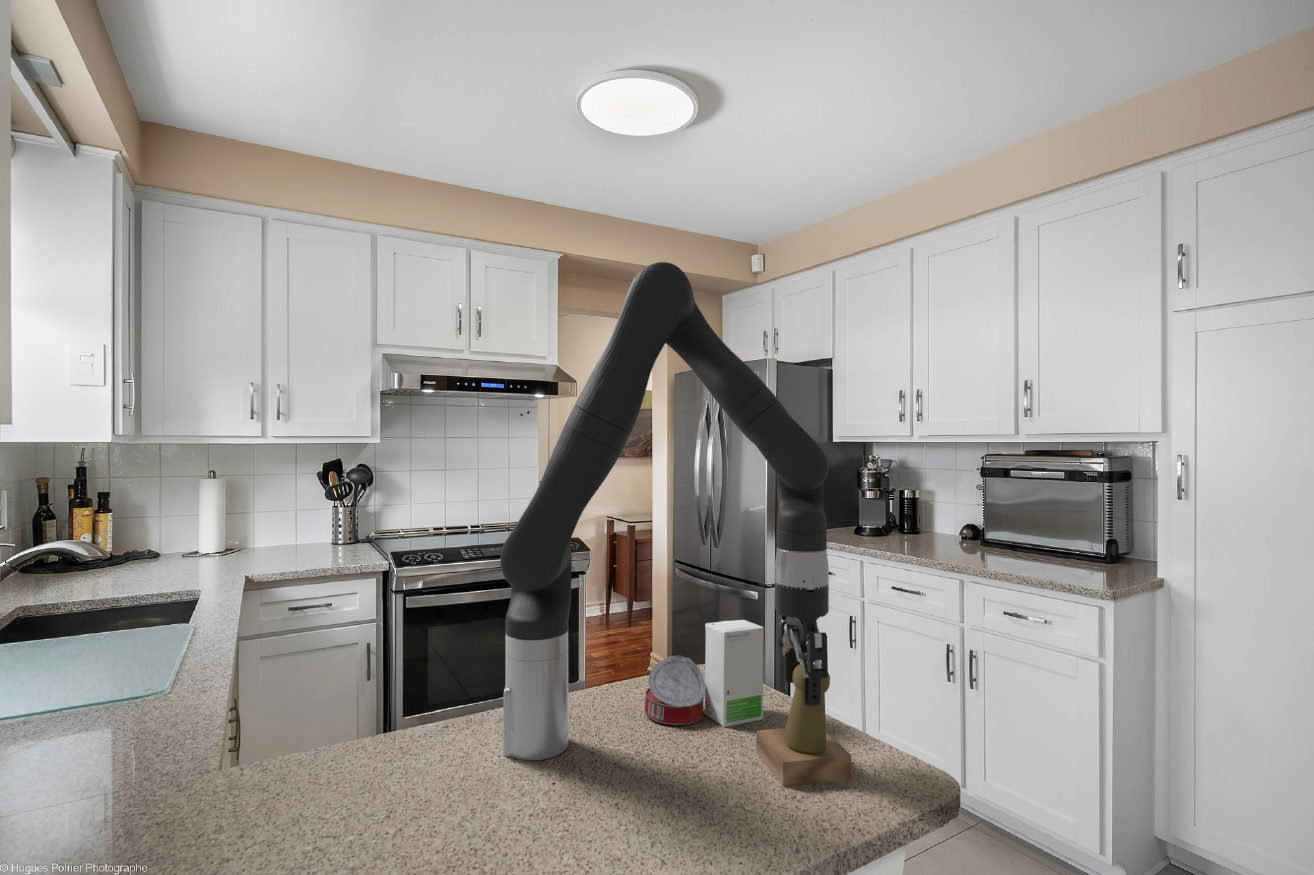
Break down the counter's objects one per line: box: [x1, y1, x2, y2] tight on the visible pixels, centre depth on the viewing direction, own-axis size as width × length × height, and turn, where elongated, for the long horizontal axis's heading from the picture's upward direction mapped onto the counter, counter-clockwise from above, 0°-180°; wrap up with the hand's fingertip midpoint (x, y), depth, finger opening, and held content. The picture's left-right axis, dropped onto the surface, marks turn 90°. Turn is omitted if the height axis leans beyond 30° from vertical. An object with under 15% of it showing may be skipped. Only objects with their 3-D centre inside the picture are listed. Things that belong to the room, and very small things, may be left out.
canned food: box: [644, 654, 706, 726], centre depth 113 cm, size 11×10×10 cm
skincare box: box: [704, 619, 765, 728], centre depth 113 cm, size 8×7×16 cm
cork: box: [783, 663, 831, 753], centre depth 95 cm, size 6×6×11 cm
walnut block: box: [755, 727, 852, 787], centre depth 96 cm, size 10×10×4 cm
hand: (801, 692), depth 96 cm, fingers open, 8 cm apart
